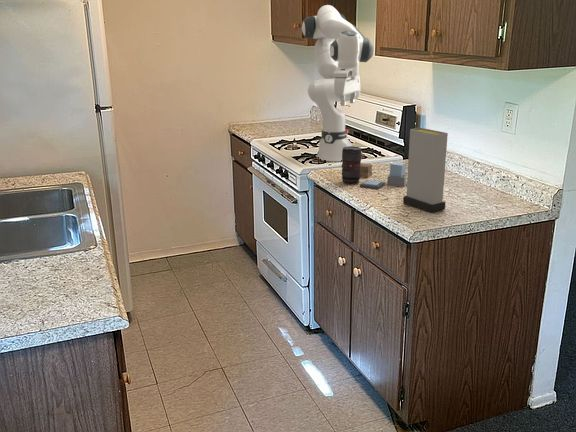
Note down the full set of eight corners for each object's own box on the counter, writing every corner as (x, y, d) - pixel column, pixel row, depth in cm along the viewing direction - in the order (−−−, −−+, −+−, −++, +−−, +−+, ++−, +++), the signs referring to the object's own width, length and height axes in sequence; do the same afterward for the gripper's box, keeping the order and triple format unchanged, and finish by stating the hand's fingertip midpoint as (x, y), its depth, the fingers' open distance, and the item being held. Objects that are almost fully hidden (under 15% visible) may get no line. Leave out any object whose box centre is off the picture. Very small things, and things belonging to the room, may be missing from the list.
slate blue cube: (393, 173, 252) (394, 161, 250) (405, 174, 250) (405, 162, 248) (389, 175, 248) (390, 164, 246) (401, 177, 245) (401, 165, 244)
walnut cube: (361, 174, 266) (361, 163, 264) (371, 175, 264) (372, 164, 262) (357, 176, 262) (357, 165, 260) (367, 177, 260) (368, 166, 258)
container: (417, 206, 228) (411, 127, 222) (454, 210, 212) (449, 126, 207) (402, 209, 224) (397, 129, 219) (440, 214, 208) (434, 128, 203)
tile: (366, 182, 252) (367, 179, 252) (384, 184, 248) (384, 181, 248) (359, 187, 245) (359, 183, 245) (378, 189, 242) (378, 185, 241)
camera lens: (359, 185, 248) (360, 150, 243) (340, 184, 249) (341, 149, 245) (361, 180, 255) (362, 146, 251) (342, 179, 257) (343, 145, 252)
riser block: (389, 181, 254) (390, 172, 253) (406, 182, 252) (406, 173, 251) (387, 185, 248) (387, 176, 247) (404, 187, 246) (404, 177, 245)
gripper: (351, 69, 260) (350, 101, 265) (331, 73, 243) (331, 107, 248) (364, 69, 258) (363, 101, 262) (345, 73, 241) (345, 108, 245)
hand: (347, 104), depth 255 cm, fingers open, 8 cm apart
